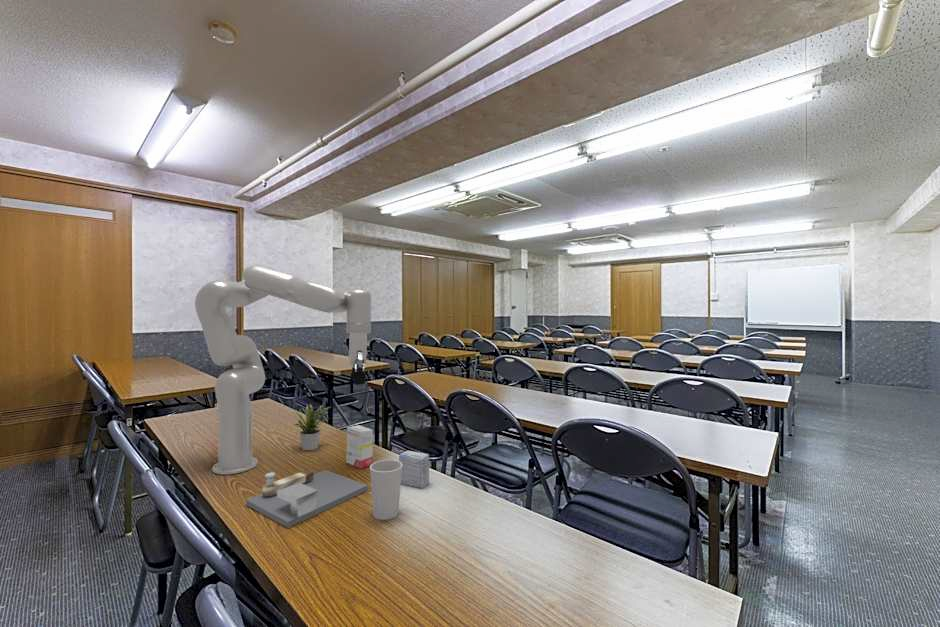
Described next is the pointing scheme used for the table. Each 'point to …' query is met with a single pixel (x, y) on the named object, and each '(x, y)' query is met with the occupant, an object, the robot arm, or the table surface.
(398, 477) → the cup
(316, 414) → the house plant
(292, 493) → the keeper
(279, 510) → the board
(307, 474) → the link
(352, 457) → the ink box
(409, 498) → the table surface
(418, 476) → the medicine box
